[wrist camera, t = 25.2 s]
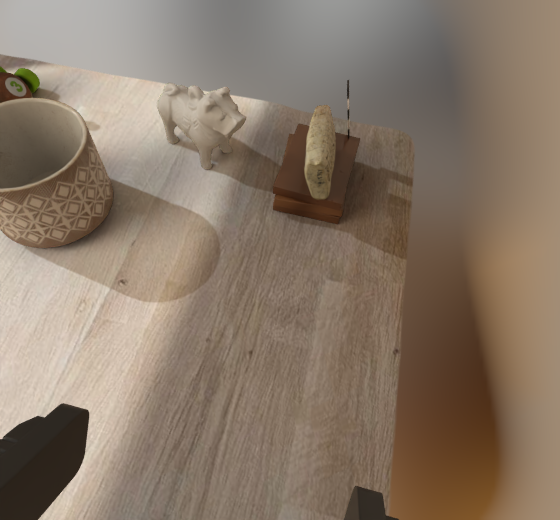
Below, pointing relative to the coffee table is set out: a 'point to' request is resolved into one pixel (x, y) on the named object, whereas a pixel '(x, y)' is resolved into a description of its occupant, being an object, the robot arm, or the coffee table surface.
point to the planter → (49, 174)
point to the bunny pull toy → (17, 84)
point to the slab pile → (294, 187)
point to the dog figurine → (200, 117)
